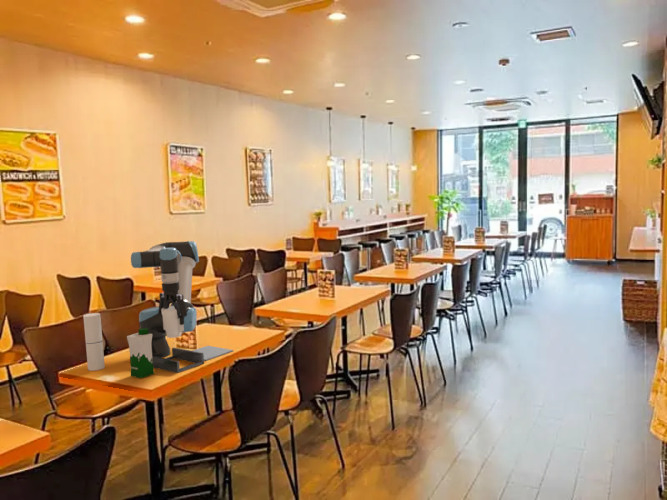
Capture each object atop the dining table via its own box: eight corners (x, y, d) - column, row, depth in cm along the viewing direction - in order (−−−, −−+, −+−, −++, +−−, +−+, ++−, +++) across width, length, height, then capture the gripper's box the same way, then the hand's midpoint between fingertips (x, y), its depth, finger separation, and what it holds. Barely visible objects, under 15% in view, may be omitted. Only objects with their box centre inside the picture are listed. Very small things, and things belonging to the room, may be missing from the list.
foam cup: (162, 335, 264) (160, 307, 262) (182, 332, 268) (180, 305, 266) (165, 339, 255) (163, 311, 254) (186, 336, 259) (184, 308, 258)
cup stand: (147, 366, 262) (147, 355, 262) (174, 357, 275) (173, 347, 274) (177, 373, 251) (176, 361, 250) (204, 363, 263) (203, 352, 263)
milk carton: (157, 373, 251) (154, 329, 249) (140, 379, 244) (136, 333, 242) (144, 370, 256) (141, 327, 254) (127, 376, 248) (123, 331, 246)
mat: (180, 355, 277) (180, 354, 277) (207, 346, 292) (207, 345, 292) (206, 360, 267) (205, 359, 267) (233, 351, 282) (233, 350, 282)
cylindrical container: (94, 371, 258) (90, 317, 255) (84, 369, 261) (79, 315, 259) (108, 366, 264) (103, 313, 261) (97, 365, 267) (93, 312, 265)
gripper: (147, 281, 262) (151, 329, 264) (180, 285, 249) (183, 335, 252) (161, 279, 268) (164, 325, 271) (193, 282, 256) (196, 331, 258)
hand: (173, 330), depth 261 cm, fingers closed on foam cup, 9 cm apart
